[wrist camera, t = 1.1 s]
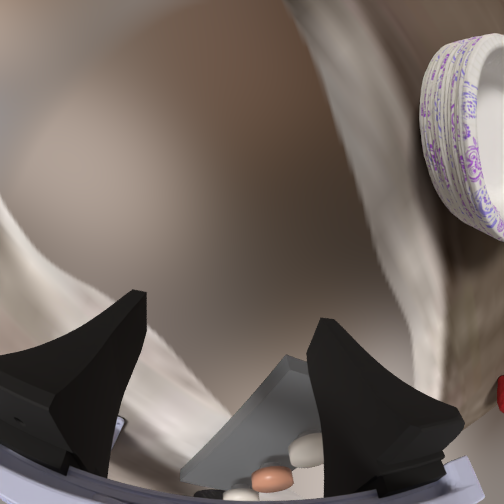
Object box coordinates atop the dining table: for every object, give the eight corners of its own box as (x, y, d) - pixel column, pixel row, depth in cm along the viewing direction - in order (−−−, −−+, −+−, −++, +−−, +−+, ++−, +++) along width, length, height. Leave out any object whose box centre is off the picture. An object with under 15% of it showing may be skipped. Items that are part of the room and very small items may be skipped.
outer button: (311, 449, 26) (317, 469, 23) (277, 444, 25) (281, 465, 22) (338, 427, 24) (346, 447, 22) (304, 420, 23) (310, 443, 21)
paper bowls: (520, 132, 19) (575, 142, 12) (463, 246, 23) (520, 281, 16) (436, 17, 15) (496, -5, 8) (358, 139, 19) (424, 143, 12)
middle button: (275, 475, 28) (278, 493, 25) (243, 471, 27) (244, 490, 24) (297, 460, 26) (301, 479, 24) (263, 455, 25) (266, 476, 23)
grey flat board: (254, 484, 35) (255, 494, 33) (180, 469, 32) (179, 481, 30) (375, 383, 28) (381, 395, 26) (285, 354, 25) (289, 369, 23)
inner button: (246, 494, 30) (248, 510, 27) (216, 489, 28) (217, 506, 26) (264, 483, 28) (266, 500, 26) (232, 479, 27) (233, 497, 25)
